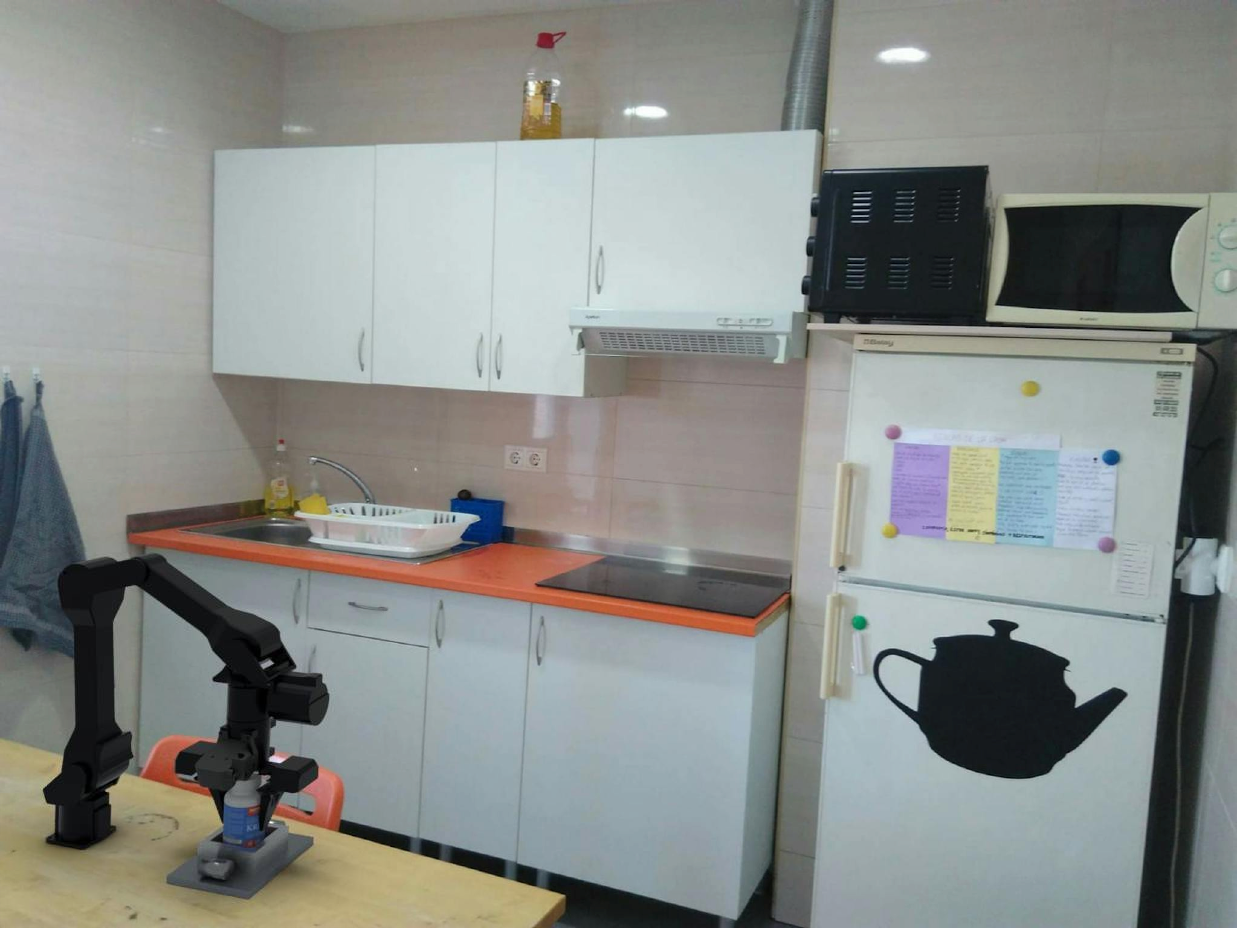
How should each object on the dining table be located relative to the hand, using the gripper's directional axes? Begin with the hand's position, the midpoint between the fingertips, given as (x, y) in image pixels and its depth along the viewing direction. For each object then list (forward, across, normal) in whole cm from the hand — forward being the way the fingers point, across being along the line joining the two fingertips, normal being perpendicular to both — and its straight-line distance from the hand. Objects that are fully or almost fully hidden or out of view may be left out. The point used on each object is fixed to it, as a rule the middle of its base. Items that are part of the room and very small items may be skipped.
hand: (244, 826), depth 133 cm
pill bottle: (+3, 0, 0) cm, 3 cm away
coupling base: (+5, 0, 0) cm, 5 cm away
